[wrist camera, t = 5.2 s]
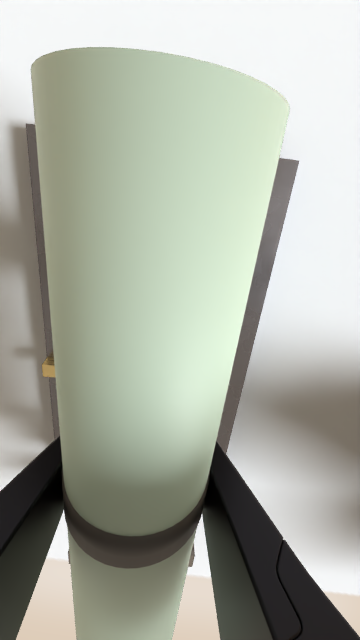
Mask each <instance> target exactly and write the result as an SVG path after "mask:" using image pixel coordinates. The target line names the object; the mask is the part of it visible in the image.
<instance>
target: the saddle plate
mask: <svg viewBox="0 0 360 640" xmlns="http://www.w3.org/2000/svg"><path fill="white" fill-rule="evenodd" d="M26 129H27V140H28V151H29V162H30V173H31V184H32V195H33V206H34V217H35V228H36V239H37V250H38V261H39V272H40V283H41V294H42V305H43V316H44V327H45V338H46V349H47V358H46V360H45V361H44V363H43V364H42V372H43V377H49V381H50V392H51V403H52V414H53V425H54V436H55V439H56V438H57V437H58V436H60V427H59V415H58V402H57V390H56V377H55V365H54V353H53V340H52V328H51V315H50V303H49V290H48V278H47V265H46V253H45V240H44V228H43V216H42V203H41V191H40V178H39V166H38V153H37V141H36V128H35V125H32V124H26ZM298 164H299V161H297V160H289V159H282V158H279V161H278V165H277V170H276V174H275V179H274V183H273V188H272V192H271V197H270V201H269V206H268V210H267V215H266V219H265V223H264V228H263V232H262V237H261V241H260V246H259V250H258V255H257V259H256V264H255V268H254V273H253V277H252V282H251V286H250V291H249V295H248V300H247V304H246V309H245V313H244V318H243V322H242V327H241V331H240V336H239V340H238V345H237V349H236V354H235V358H234V363H233V367H232V372H231V376H230V381H229V385H228V390H227V394H226V399H225V403H224V408H223V412H222V417H221V421H220V426H219V430H218V435H217V439H216V441H217V442H218V443H219V445H220V446H221V448H222V449H223V451H224V452H225V454H226V452H227V448H228V444H229V440H230V436H231V432H232V428H233V424H234V420H235V416H236V412H237V408H238V404H239V400H240V396H241V392H242V388H243V384H244V380H245V376H246V372H247V368H248V364H249V360H250V356H251V352H252V348H253V344H254V340H255V336H256V332H257V328H258V324H259V320H260V316H261V312H262V308H263V304H264V300H265V296H266V292H267V288H268V284H269V280H270V276H271V272H272V268H273V264H274V260H275V256H276V252H277V248H278V244H279V240H280V236H281V232H282V228H283V224H284V220H285V216H286V212H287V208H288V204H289V200H290V196H291V192H292V188H293V184H294V180H295V176H296V172H297V168H298ZM194 556H195V554H194V542H193V547H192V551H191V556H190V560H189V565H188V567H192V565H193V560H194ZM68 557H69V564H70V552H69V551H68Z"/></svg>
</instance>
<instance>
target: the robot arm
mask: <svg viewBox="0 0 360 640" xmlns="http://www.w3.org/2000/svg"><path fill="white" fill-rule="evenodd" d="M62 468H63V465H62V452H61V440H60V436H58V437H57V438H56V439H55V440H54V441H53V442H52V443H51V444H50V445H49V446H48V447H47V448H46V449H45V450H44V451H43V452H41V453H40V454H39V455H38V456H37V457H36V458H35V459H34V460H33V461H32V462H31V463H30V464H29V465H28V466H27V467H26V468H24V469H23V470H22V471H21V472H20V473H19V474H18V475H17V476H16V477H15V478H14V479H13V480H12V481H11V482H10V483H9V484H7V485H6V486H5V487H4V488H3V489H2V490H1V491H0V640H16V637H17V634H18V632H19V629H20V626H21V624H22V621H23V618H24V616H25V613H26V610H27V607H28V605H29V602H30V599H31V597H32V594H33V591H34V588H35V586H36V583H37V581H38V578H39V575H40V572H41V570H42V567H43V564H44V562H45V559H46V556H47V553H48V551H49V548H50V545H51V543H52V540H53V537H54V535H55V532H56V529H57V526H58V524H59V521H60V518H61V516H62V513H63V510H64V502H63V491H62ZM202 514H203V522H204V529H205V536H206V543H207V550H208V557H209V564H210V571H211V578H212V585H213V592H214V598H215V604H216V605H215V606H216V612H217V619H218V626H219V633H220V639H221V640H360V637H359V636H358V635H357V633H356V632H355V631H354V629H352V627H351V626H350V625H349V623H348V622H347V621H346V620H345V618H344V617H343V616H342V615H341V613H340V612H339V611H338V610H337V609H336V608H335V606H334V605H333V604H332V602H331V601H330V600H329V599H328V598H327V596H326V595H325V594H324V592H323V591H322V590H321V589H320V587H319V586H318V585H317V584H316V582H315V581H314V580H313V578H312V577H311V576H310V575H309V573H308V572H307V571H306V569H305V568H304V566H303V565H302V564H301V562H300V561H299V559H298V558H297V557H296V555H295V554H294V552H293V551H292V550H291V548H290V547H289V545H288V544H287V542H286V541H285V540H283V537H282V535H281V534H280V532H279V531H278V529H277V528H276V526H275V525H274V523H273V522H272V521H271V519H270V518H269V516H268V515H267V513H266V512H265V510H264V509H263V507H262V506H261V505H260V503H259V502H258V500H257V499H256V497H255V496H254V494H253V493H252V491H251V490H250V489H249V487H248V486H247V484H246V483H245V481H244V480H243V478H242V477H241V475H240V474H239V472H238V471H237V470H236V468H235V467H234V465H233V464H232V462H231V461H230V459H229V458H228V456H227V455H226V454H225V452H224V451H223V449H222V448H221V446H220V445H219V443H218V442H217V441H216V444H215V448H214V453H213V457H212V462H211V466H210V477H209V484H208V488H207V492H206V497H205V501H204V506H203V510H202Z"/></svg>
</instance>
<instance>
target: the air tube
mask: <svg viewBox="0 0 360 640" xmlns="http://www.w3.org/2000/svg"><path fill="white" fill-rule="evenodd" d="M31 79H32V91H33V103H34V116H35V128H36V141H37V153H38V166H39V178H40V191H41V203H42V216H43V228H44V240H45V253H46V265H47V278H48V290H49V303H50V315H51V328H52V340H53V353H54V365H55V377H56V390H57V402H58V415H59V427H60V440H61V452H62V465H63V468H62V491H63V502H64V513H65V519H66V523H67V527H68V539H69V552H70V564H71V577H72V589H73V602H74V614H75V626H76V639H77V640H172V637H173V632H174V628H175V623H176V619H177V614H178V610H179V605H180V601H181V596H182V592H183V587H184V583H185V578H186V574H187V569H188V565H189V560H190V556H191V551H192V547H193V542H194V538H195V533H196V529H197V525H198V523H199V520H200V518H201V514H202V510H203V506H204V501H205V497H206V492H207V488H208V484H209V477H210V466H211V462H212V457H213V453H214V448H215V444H216V439H217V435H218V430H219V426H220V421H221V417H222V412H223V408H224V403H225V399H226V394H227V390H228V385H229V381H230V376H231V372H232V367H233V363H234V358H235V354H236V349H237V345H238V340H239V336H240V331H241V327H242V322H243V318H244V313H245V309H246V304H247V300H248V295H249V291H250V286H251V282H252V277H253V273H254V268H255V264H256V259H257V255H258V250H259V246H260V241H261V237H262V232H263V228H264V223H265V219H266V215H267V210H268V206H269V201H270V197H271V192H272V188H273V183H274V179H275V174H276V170H277V165H278V161H279V156H280V152H281V147H282V143H283V138H284V134H285V129H286V125H287V120H288V116H289V110H290V107H289V104H288V102H287V100H286V99H285V98H284V97H283V96H282V95H281V94H280V93H279V92H278V91H276V90H275V89H273V88H272V87H270V86H268V85H267V84H265V83H263V82H261V81H259V80H257V79H255V78H253V77H251V76H248V75H246V74H243V73H240V72H238V71H235V70H232V69H230V68H226V67H223V66H220V65H216V64H213V63H210V62H206V61H201V60H197V59H193V58H189V57H184V56H179V55H173V54H168V53H162V52H155V51H147V50H139V49H128V48H113V47H87V48H73V49H66V50H60V51H55V52H52V53H49V54H46V55H43V56H41V57H40V58H38V59H36V60H35V61H34V63H33V64H32V66H31Z"/></svg>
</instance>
